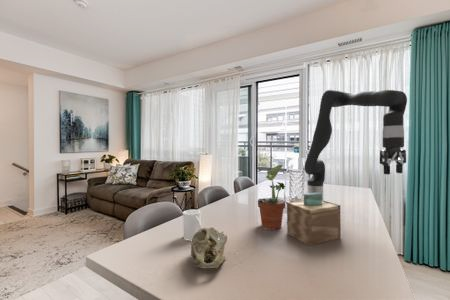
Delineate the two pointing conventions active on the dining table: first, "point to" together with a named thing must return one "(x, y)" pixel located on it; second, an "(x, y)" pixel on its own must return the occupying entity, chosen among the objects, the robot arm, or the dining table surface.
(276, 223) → the potted plant
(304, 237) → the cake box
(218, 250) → the skull
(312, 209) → the lid
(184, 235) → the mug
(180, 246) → the dining table surface
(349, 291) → the dining table surface
